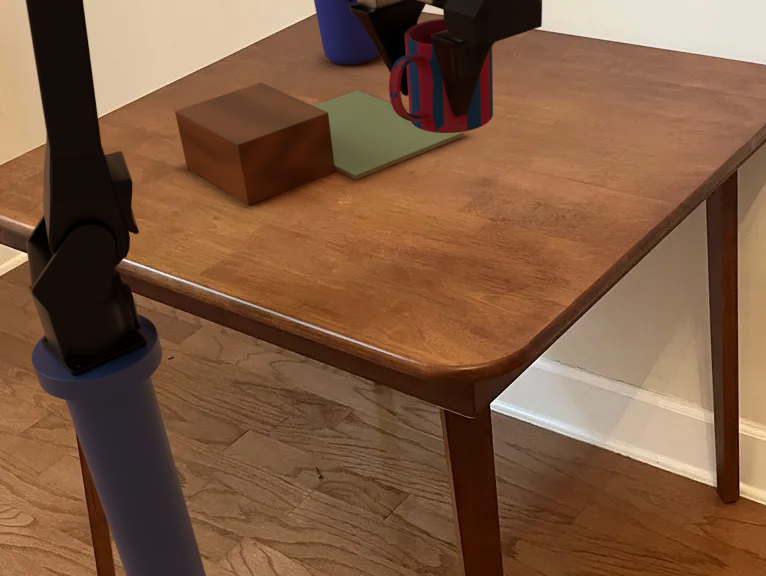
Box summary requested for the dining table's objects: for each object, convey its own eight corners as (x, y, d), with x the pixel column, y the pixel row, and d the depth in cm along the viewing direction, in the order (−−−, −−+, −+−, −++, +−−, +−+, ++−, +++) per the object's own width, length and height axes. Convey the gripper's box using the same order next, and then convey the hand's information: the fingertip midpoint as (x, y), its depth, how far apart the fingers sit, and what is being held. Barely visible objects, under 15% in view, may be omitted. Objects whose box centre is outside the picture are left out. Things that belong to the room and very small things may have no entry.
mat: (355, 180, 98) (354, 175, 98) (256, 130, 110) (256, 125, 110) (462, 137, 105) (462, 132, 104) (358, 94, 116) (357, 89, 116)
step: (248, 205, 96) (237, 144, 92) (186, 168, 103) (174, 110, 100) (335, 171, 100) (328, 112, 97) (270, 138, 108) (261, 82, 104)
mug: (418, 65, 122) (412, -23, 116) (317, 72, 123) (306, -16, 116) (417, 42, 129) (412, -43, 122) (321, 49, 129) (311, -35, 123)
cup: (510, 114, 82) (510, 28, 78) (419, 154, 77) (413, 64, 73) (452, 95, 86) (449, 12, 82) (361, 132, 81) (353, 45, 77)
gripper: (604, -119, 69) (592, 107, 78) (430, -147, 81) (439, 52, 91) (478, -88, 64) (482, 150, 73) (313, -122, 76) (335, 86, 86)
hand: (434, 104), depth 81 cm, fingers closed on cup, 6 cm apart
